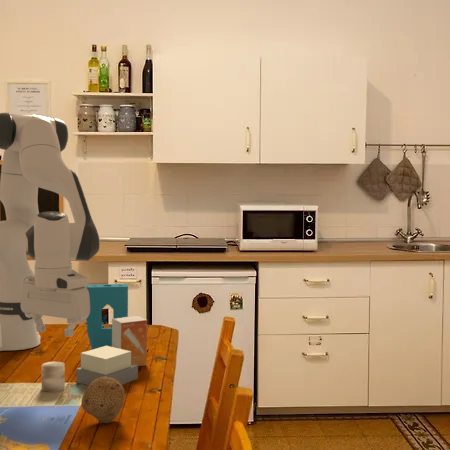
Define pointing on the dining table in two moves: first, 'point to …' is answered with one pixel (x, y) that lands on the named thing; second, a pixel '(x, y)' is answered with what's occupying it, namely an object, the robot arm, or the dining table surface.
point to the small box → (131, 337)
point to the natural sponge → (103, 399)
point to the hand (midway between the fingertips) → (54, 333)
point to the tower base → (108, 375)
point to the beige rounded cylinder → (53, 376)
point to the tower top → (105, 360)
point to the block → (98, 300)
